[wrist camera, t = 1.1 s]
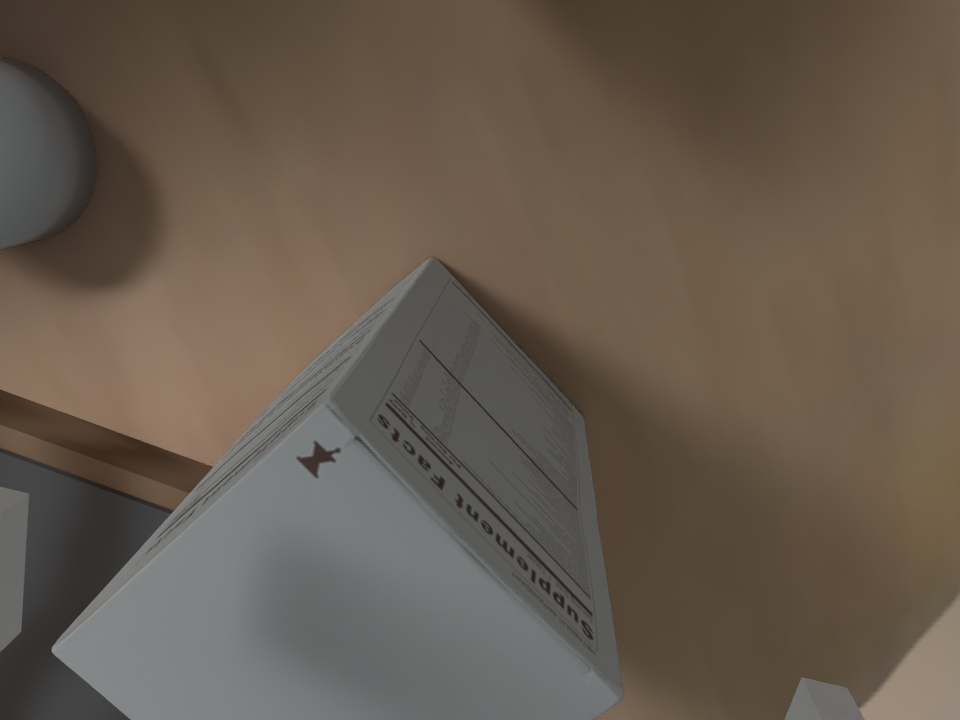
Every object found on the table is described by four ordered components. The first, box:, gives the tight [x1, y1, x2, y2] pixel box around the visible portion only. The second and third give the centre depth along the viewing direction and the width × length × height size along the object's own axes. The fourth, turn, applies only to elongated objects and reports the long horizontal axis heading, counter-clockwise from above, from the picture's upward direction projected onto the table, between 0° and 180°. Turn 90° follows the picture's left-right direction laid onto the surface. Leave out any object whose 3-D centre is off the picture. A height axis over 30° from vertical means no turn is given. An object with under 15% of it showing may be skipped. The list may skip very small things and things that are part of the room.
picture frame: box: [0, 390, 213, 720], centre depth 36 cm, size 16×16×3 cm
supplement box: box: [52, 257, 624, 720], centre depth 25 cm, size 10×9×17 cm
